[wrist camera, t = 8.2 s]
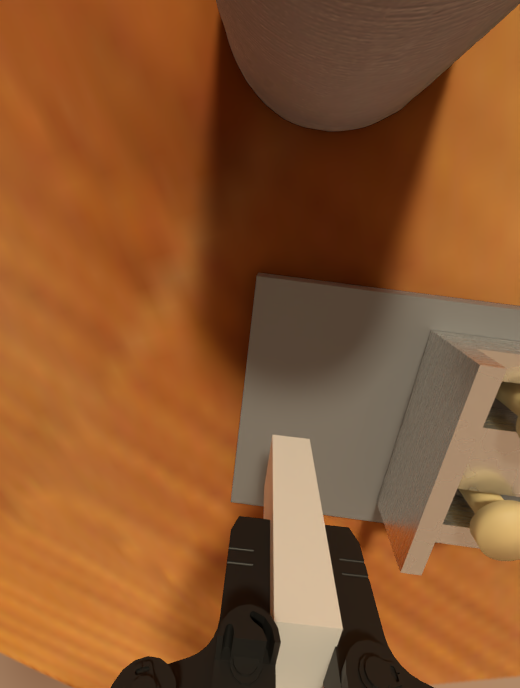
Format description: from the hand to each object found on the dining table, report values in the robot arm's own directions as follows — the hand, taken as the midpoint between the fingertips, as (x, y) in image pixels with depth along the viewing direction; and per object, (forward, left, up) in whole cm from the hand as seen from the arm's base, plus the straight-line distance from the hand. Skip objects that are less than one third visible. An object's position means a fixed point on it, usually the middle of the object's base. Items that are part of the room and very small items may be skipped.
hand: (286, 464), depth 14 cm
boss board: (+12, 0, -6) cm, 13 cm away
